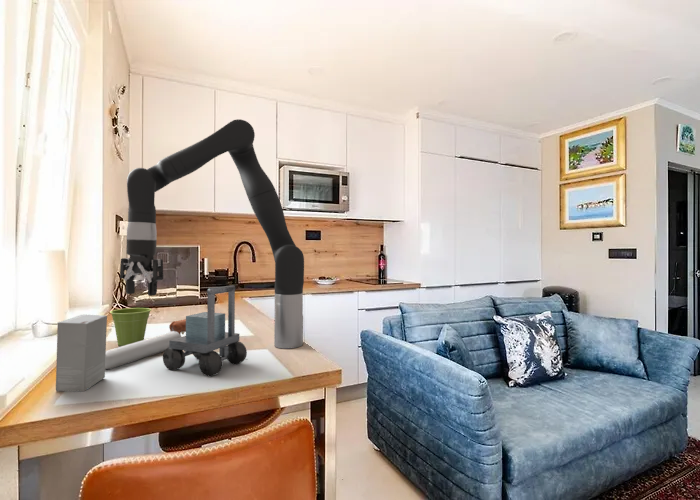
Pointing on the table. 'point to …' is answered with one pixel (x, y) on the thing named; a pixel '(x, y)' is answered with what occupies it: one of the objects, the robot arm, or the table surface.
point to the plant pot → (130, 324)
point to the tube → (138, 350)
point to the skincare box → (80, 352)
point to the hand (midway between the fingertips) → (141, 294)
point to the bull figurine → (178, 326)
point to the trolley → (208, 338)
